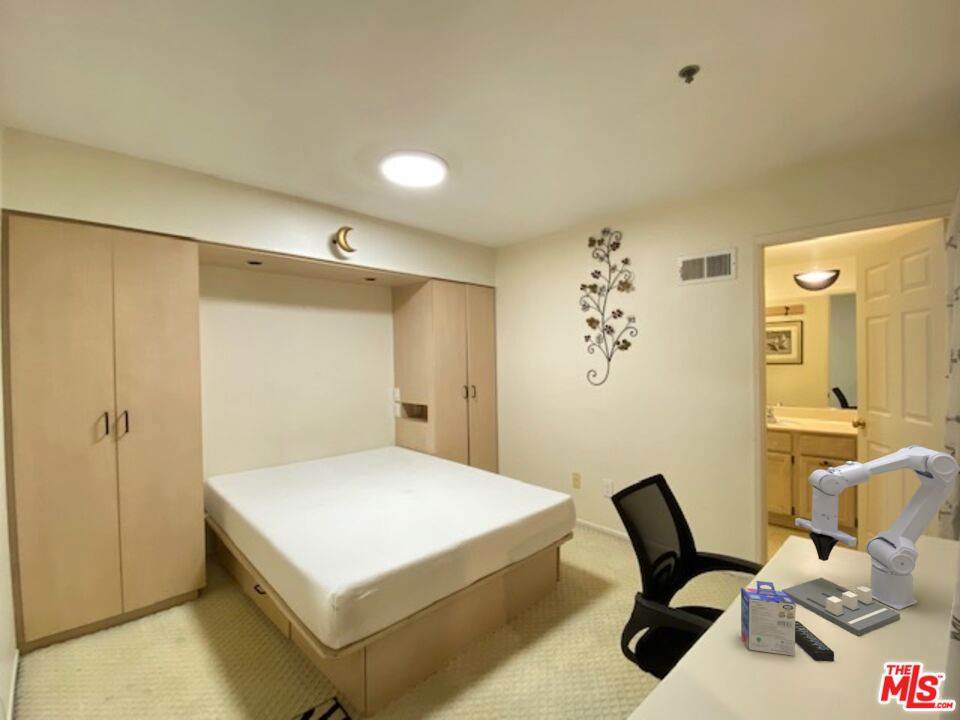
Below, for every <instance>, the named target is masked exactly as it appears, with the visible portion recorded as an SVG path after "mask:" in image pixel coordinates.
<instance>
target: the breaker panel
mask: <svg viewBox="0 0 960 720" xmlns="http://www.w3.org/2000/svg"><path fill="white" fill-rule="evenodd" d="M781 591H783V592H785V593H786V594H787V595H788V596H789V597H790V598H791V599H792V600H793V601H794V602H795V604H796V605H799V606H801V607H803V608H805V609H806V610H807V611H810V612H812V613H814V614H816V615H818V616H819V617H821V618H823V619H825V620H827V621H828V622H831V623H833V624H834V625H836V626H837V627H840V628H842V629H844V630H846V631H847V632H849V633H851V634H853V635H855V636H856V637H860V636H863V635H865V634H867V633H870V632H873V631H875V630H877V629H880V628H882V627H884V626H886V625H887V626H888V625H889V624H891V623H894V622H896V621H899V620H900V619H901V613H900V612H898V611H895V610H893V609H891V608H889V607H887V606H886V605H884V604H883V605H882V604H880V603H879V602H876V601H875V600H874V601H873V600H872V601H873V602H874V603H871V604H868V605H866V604H864V603H862V602H860V601H858V607H860V608H859V609H856V610H851V609H849V608H847V607H845V606H843V605H842V612H844V614H842V615H839V616H836V615H834V614H832V613H830V612H828V611H826V610H824V608H826V598H829V597H832V596H835V597H837V598H839V599H841V600H842V593H845V592H848V591H850V592H852V593H854V594H856V591H853V590H850V589H849V588H846V587H843V586H841V585H839V584H838V583H835V582H833V581H830V580H828V579H826V578H824V577H818V578H816V579H812V580H809V581H806V582H803V583H800V584H797V585H794V586H790V587H787V588H784V589H781ZM862 634H863V635H862Z"/></svg>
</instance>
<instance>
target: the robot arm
mask: <svg viewBox="0 0 960 720" xmlns="http://www.w3.org/2000/svg"><path fill="white" fill-rule="evenodd" d="M902 469H909V470H912V471H913V472H914V473H915V474H916V475H917V477H918V479H919V481H920V483H921V484H920V486H919V487H918V489H917V490H916V491H915V492H914V494H913V496H912V497H911V498H910V500H909V501H908V503H907V504H906V506H905V507H904V508H903V510H902V511H901V512H900V514H899V516H897V518H896V519H895V521H894V522H893V524H892V526H891V527H890V529H888V530H883V531H880V532H879V531H878V533H877V534H876V536H874V537H872V538H870V539H869V540H867V542H866V544H865V550H866V552H867V554H868V555H869V556H870V561H871V566H870V567H871V569H870V589H871V590H872V599H873V600H874V601H878V602H880V603H882V604H883V605H885V606H888V607H891V608H892V609H893V608H894V609H895V610H897V611H898V610H899V611H900V610H903V609H905V608H907V607H910V606H912V605H915V604H918V600H917V599H914V577H913V574H912V572H913V571H914V570H915V568H916V561H917V559H918V557H919V556H920V555H919V554H920V553H919V551H918V549H917V547H916V543H917V542H918V540H919V539H920V538H921V537H922V535H923V533H924V532H925V530H926V529H928V526H929V525H930V524H931V522H932V521H933V519H934V518H935V517H936V515H937V514H938V512H939V511H940V510H941V508H942V507H943V506H944V504H945V503H946V501H947V500H948V499H949V497H950V496H951V494H952V493H953V491H954V490H955V481H956V477H957V475H958V474H959V472H960V466H959V464H958V461H957V459H955V457H954V456H953V455H950V454H949V453H946V452H940V451H936V450H934V449H929V448H926V447H925V446H921V445H910V446H909V447H903V448H900V449H899V450H897V451H895V452H893V453H890V454H886V455H884V456H882V457H879V458H875V459H873V460H870V461H868V462H865V463H861V462H859V461H853V460H852V461H851V460H849V461H846V462H845V464H842V465H837V466H836V467H832V466H830V467H827V470H825V469H815V470H814V471H812V473H811V474H810V475H809V476H808V478H807V479H808V483H809V484H810V486H811V487H812V495H811V496H812V501H811V502H812V503H811V520H807V519H804V518H801V517H798V518H795V519H794V520H795V521H794V525H795V526H797V527H802V528H805V529H807V530H810V531H811V532H809V535H808V536H809V537H810V539H811V541H812V543H813V545H814V547H815V550H816V552H817V553H816V554H817V557H818V559H819V560H820V561H823V562H826V561H828V560H829V557H830V555H831V552H832V550H833V549H834V547H835V545H837V543H838V542H842V543H845V544H847V546H850V547H855V546H857V545H858V544H857V542H858V541H857V540H858V539H857V537H855V536H852V535H850V534H848V533H845V532H844V531H841V530H839V529H838V524H839V523H838V520H839V495H841V493H842V492H843V491H844V489H847V488H849V487H853V486H856V485H861V484H864V483H867V482H870V479H871V478H872V476H877V475H879V474H883V473H884V474H885V473H889V472H893V471H897V470H902Z"/></svg>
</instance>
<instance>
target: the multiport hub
mask: <svg viewBox="0 0 960 720" xmlns="http://www.w3.org/2000/svg"><path fill="white" fill-rule="evenodd" d="M795 644H797V645H798V647H800V648H801V649H802V650H803V651H804V652H805V653H806V654H807V655H808V656H809V657H811V659H813V661H815V662H834V661H835V651H833V650H832V648H830V647H829V646H828V645H827V644H825V643H824V642H823V640H821V639H819V637H817V636H816V634H814V633H813V632H812V631H811V630H809V629H808V628H807V627H806V626H804V624H802V623H801V622H800V621H798V620H795Z"/></svg>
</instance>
